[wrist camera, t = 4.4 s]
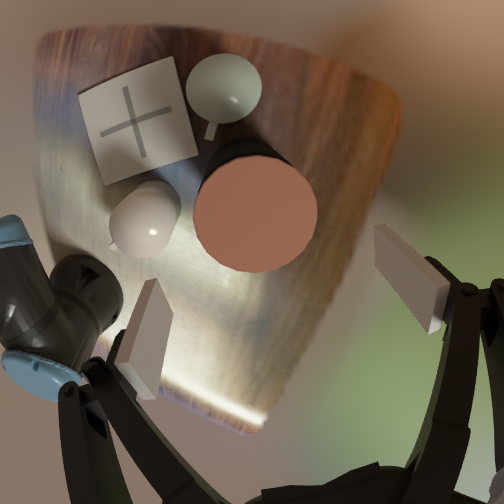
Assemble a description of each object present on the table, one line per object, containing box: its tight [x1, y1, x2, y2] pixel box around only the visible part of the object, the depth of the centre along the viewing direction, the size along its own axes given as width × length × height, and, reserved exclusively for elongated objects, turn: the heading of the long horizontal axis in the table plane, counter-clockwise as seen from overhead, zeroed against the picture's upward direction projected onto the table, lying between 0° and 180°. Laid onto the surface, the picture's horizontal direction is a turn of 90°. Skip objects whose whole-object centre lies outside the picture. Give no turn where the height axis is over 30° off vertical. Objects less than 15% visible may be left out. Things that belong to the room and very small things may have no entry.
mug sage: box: [186, 54, 262, 141], centre depth 31 cm, size 10×8×9 cm
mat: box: [78, 56, 199, 186], centre depth 35 cm, size 15×15×1 cm
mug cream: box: [109, 180, 181, 258], centre depth 37 cm, size 10×8×9 cm
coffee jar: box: [193, 138, 317, 273], centre depth 32 cm, size 11×11×18 cm
